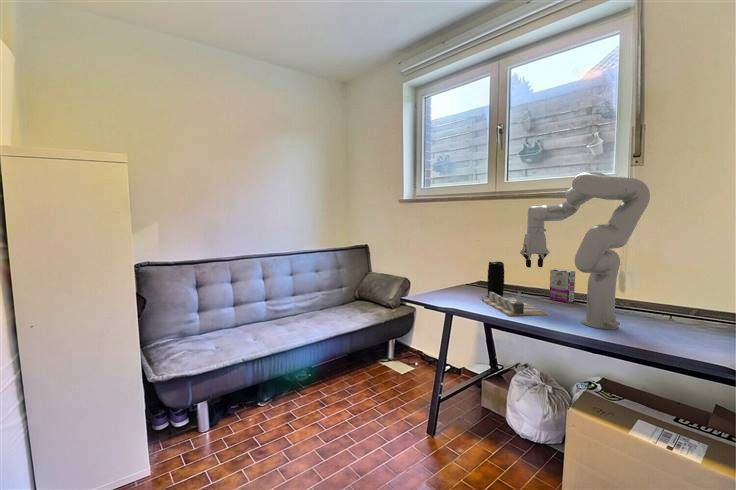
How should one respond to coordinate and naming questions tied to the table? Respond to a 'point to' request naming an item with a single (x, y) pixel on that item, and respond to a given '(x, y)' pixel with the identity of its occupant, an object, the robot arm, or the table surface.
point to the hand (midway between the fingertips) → (534, 266)
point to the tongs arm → (518, 297)
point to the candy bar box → (562, 285)
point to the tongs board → (512, 306)
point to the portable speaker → (496, 278)
